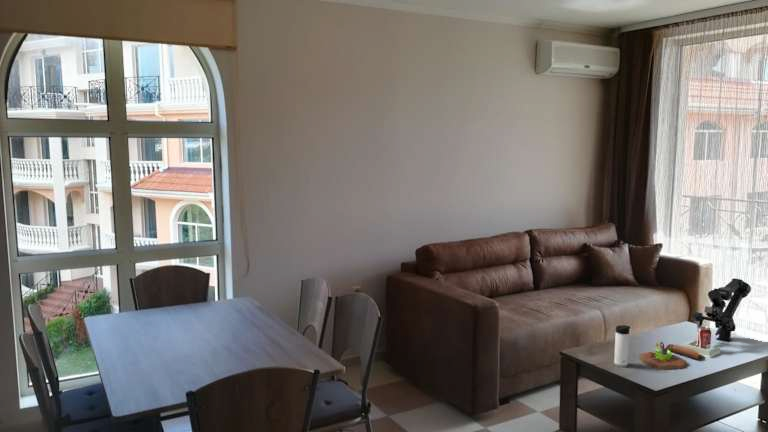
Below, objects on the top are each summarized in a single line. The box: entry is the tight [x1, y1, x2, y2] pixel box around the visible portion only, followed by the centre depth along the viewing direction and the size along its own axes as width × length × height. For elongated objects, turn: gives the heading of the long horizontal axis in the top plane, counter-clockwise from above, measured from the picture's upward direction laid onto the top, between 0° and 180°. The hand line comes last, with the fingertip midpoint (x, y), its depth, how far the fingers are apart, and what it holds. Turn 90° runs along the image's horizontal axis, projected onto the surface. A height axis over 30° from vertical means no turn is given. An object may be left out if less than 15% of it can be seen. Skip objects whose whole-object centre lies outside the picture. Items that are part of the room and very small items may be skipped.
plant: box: [638, 341, 688, 371], centre depth 292 cm, size 20×20×11 cm
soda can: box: [695, 325, 712, 350], centre depth 307 cm, size 7×7×12 cm
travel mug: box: [613, 324, 631, 368], centre depth 288 cm, size 6×7×20 cm
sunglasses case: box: [665, 343, 707, 362], centre depth 304 cm, size 18×7×7 cm
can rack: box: [682, 338, 722, 359], centre depth 308 cm, size 13×14×4 cm
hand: (706, 333), depth 310 cm, fingers open, 9 cm apart
